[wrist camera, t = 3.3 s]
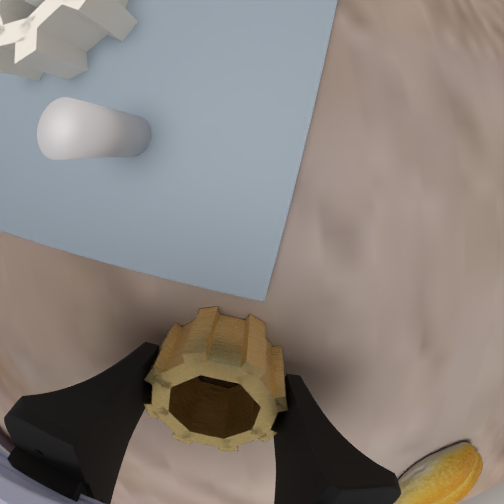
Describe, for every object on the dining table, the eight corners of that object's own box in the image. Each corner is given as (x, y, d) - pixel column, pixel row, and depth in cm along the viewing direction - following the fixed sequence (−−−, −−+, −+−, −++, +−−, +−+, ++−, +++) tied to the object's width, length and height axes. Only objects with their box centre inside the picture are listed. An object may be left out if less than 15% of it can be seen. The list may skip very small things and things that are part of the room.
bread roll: (459, 427, 16) (480, 463, 12) (481, 454, 18) (496, 481, 14) (371, 484, 18) (381, 522, 14) (411, 500, 20) (420, 529, 16)
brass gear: (162, 386, 15) (143, 432, 11) (171, 295, 13) (146, 337, 10) (264, 408, 15) (264, 458, 11) (295, 323, 13) (304, 371, 10)
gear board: (-34, 209, 12) (-102, 234, 7) (29, -37, 7) (-24, -66, 2) (263, 289, 13) (264, 379, 7) (343, -47, 8) (376, -121, 3)
